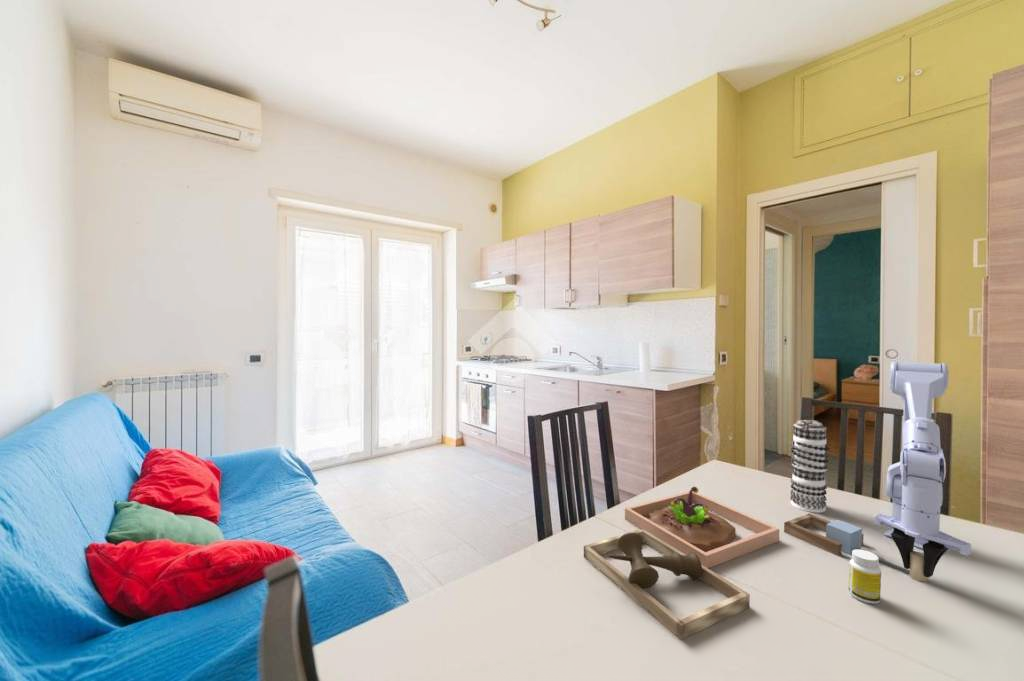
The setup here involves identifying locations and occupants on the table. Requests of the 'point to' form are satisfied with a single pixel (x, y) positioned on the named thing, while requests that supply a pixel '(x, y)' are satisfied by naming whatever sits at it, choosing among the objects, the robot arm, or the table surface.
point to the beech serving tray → (679, 627)
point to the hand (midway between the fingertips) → (918, 571)
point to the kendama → (654, 562)
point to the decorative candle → (809, 466)
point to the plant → (694, 524)
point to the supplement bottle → (864, 576)
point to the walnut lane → (798, 530)
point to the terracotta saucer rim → (726, 552)
